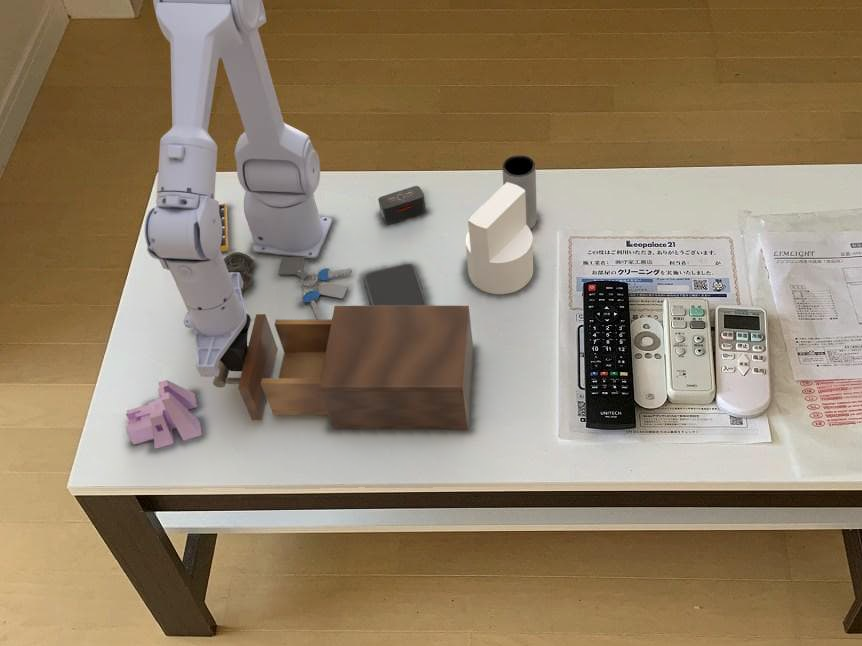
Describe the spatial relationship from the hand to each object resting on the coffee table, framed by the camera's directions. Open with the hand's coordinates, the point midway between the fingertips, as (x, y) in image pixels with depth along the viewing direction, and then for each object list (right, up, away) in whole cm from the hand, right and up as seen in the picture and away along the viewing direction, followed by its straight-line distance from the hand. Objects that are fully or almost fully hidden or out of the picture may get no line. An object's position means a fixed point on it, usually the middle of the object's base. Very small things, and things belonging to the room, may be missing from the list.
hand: (239, 367), depth 120 cm
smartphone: (+19, +8, +11) cm, 23 cm away
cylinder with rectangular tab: (+32, +13, +15) cm, 38 cm away
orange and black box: (-10, +20, +21) cm, 31 cm away
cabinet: (+20, -3, +3) cm, 20 cm away
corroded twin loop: (-5, +13, +16) cm, 21 cm away
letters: (-9, -7, +1) cm, 12 cm away
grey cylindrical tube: (+35, +21, +21) cm, 46 cm away
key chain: (+7, +12, +14) cm, 20 cm away
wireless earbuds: (+18, +23, +23) cm, 37 cm away
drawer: (+7, -2, +3) cm, 8 cm away
